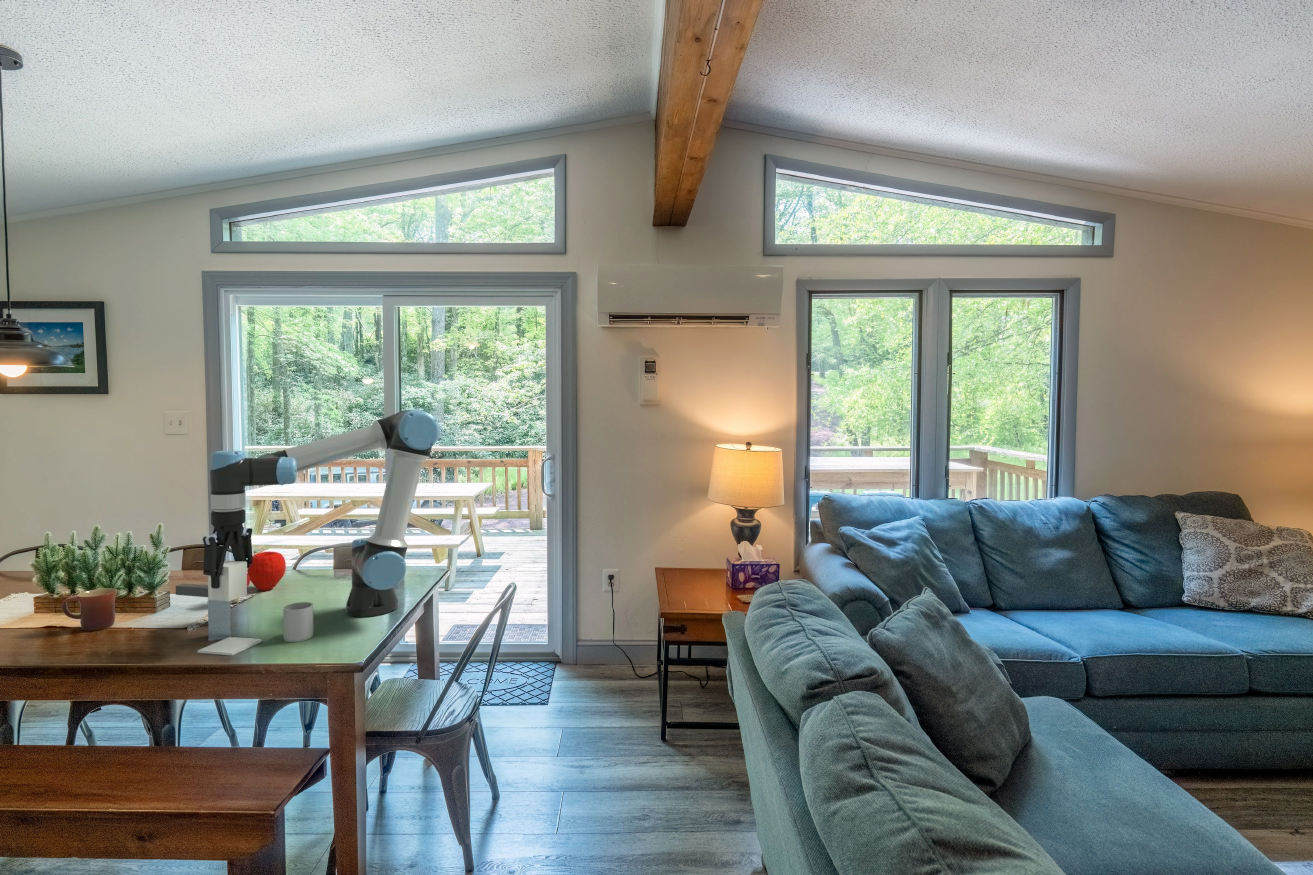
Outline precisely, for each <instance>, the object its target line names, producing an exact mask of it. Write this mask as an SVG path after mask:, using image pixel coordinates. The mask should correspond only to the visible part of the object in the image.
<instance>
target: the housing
mask: <svg viewBox="0 0 1313 875" xmlns="http://www.w3.org/2000/svg"><path fill="white" fill-rule="evenodd" d="M207 617H208V618H207V620H208V621H207V624H208V626H207V629H208V642H214V641H221V640H223V639H226V638H228V637H232V634H231V632H232V629H231V628H232V627H231V625H232V624H231V620H232V619H231V618H232V617H231V601H218V600H208V599H207Z"/></svg>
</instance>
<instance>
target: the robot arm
mask: <svg viewBox="0 0 1313 875" xmlns="http://www.w3.org/2000/svg"><path fill="white" fill-rule="evenodd" d="M440 431H441V430H440V424H439V422H438V420H437V419H436V418H435V416H433V415H432V414H431V413H429V412H427V411H424V410H422V409H405V410H402V411H398V412H395V413H393V414H391V415H389V416H386V417H383V418H380V419H375V420H374V421H373V423H372V424H370V425H367V426H363V427H361V428H357V429H353V430H349V431H346V432H342V433H339V434H336V435H335V434H334V435H331V436H328V437H324V438H321V439H317V440H314V441H310V442H307V443H302V444H299V445H296V446H293V447H289V448H285V449H283V450H278V451H275V452H271V453H270V452H269V453H264V454H261V455H259V456H258V457H254V458H253V457H247V456H246V454H245V451H243V450H218V451H214V452H213V453H212V454H211V455H210V466H209V468H210V469H209V470H210V471H209V472H210V474H209V476H210V477H209V478H210V509H211V510H212V511H211V512H210V525H211V526H213V530H212V534H211V535H207V536H203V537H202V542H203V546H204V547H203V548H204V550H203V568H202V570H203V571H202V574H203V575H204V576H208V575H210V576H211V588H213V600H220V601H222V600H224V575H221V573H222V569H223V564H224V561H226V560H225V559H226V556H227V551H228V550H229V548H230V549H231V553H232V556H233V559H234V560H233V561H244V562H247V568H249V567H250V565H249V564H252V562H253V558H252V556H253V544H252V534H253V528H251V527H244V525H243V524H245V522H246V510H245V509H244V508H246V487H253V486H254V487H255V486H284V485H292V484H295V483H296V482H297V479H298V478H297V476H298V473H300V472H303V471H306V470H310V469H314V468H317V467H321V466H323V465H327V464H330V463H333V462H338V461H341V460H343V459H344V460H345V459H346V458H349V457H354V456H358V455H360V454H361V455H362V454H363V453H367V452H370V451H374V450H376V449H383V450H387V449H389V451H390V452H391V455H392V456H393V457H392V461H391V464H390V468H389V473H388V476H387V481H386V485H385V488H384V492H383V497H382V501H381V505H380V509H379V513H378V517H377V520H376V523H375V524H376V525H375V529H374V532H373V534H372V535H370V536H369V537H363V538H362V537H361V538H356V539H353V541H352V542H351V547H350V551H351V589H350V592H349V595H348V598H347V601H346V604H345V613H346V614H347V615H348V616H351V617H361V618H362V617H363V618H364V617H374V616H380V615H381V614H382V615H385V613H386V614H388V612H389V613H392V612H393V611H392V610H394V609H396V608H397V607H398V608H399V599H398V596H397V594H396V591H395V588H394V587H396V586H397V585H399V583H400V582H402V580H403V579H404V577H405V575H406V572H407V562H406V560H405V559H406V555H407V551H408V550H407V549H408V546H409V544H408V543H407V542H406V540H405V537H406V532H407V528H408V524H409V520H410V516H411V512H412V507H413V504H414V499H415V495H416V492H417V487H418V484H419V481H420V479H419V478H420V475H421V470H422V466H423V463H424V462H425V461H427V460H428V459H429V458H430V456H431V452H432V448H433V446H434V445H435V444H436V442H437V441H438V440H439V437H440ZM216 570H217V571H216ZM398 608H397V609H398ZM397 609H396V610H397ZM391 611H392V612H391ZM394 611H395V610H394Z"/></svg>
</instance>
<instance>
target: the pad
mask: <svg viewBox="0 0 1313 875" xmlns="http://www.w3.org/2000/svg"><path fill="white" fill-rule="evenodd" d="M262 642H263V639H262V638H249V637H237V636H236V637H235V636H233V637H232V636H231V637H228V638H226V639H221V640H218V641H217V642H213V643H212V644H209V645H207V646H205V647H203V648H200V649H198V650H197V654H208V655H220V656H221V655H223V656H235V655H237V654H238V653H240V652H243V651H244V650H247V649H249V648H251V647H253V646H255V645H258V644H259V643H262Z"/></svg>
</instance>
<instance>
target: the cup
mask: <svg viewBox="0 0 1313 875" xmlns="http://www.w3.org/2000/svg"><path fill="white" fill-rule="evenodd" d="M282 608H283V609H282V610H283V611H282V612H283V613H282V614H283V640H284V641H285V642H287V643H297V642H304V641H307V640H309V639H311V638H313V636H314V603H313V602H308V601H302V602H299V601H298V602H293V603H290V604H287V605H286V604H285V606H283V607H282Z"/></svg>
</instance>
